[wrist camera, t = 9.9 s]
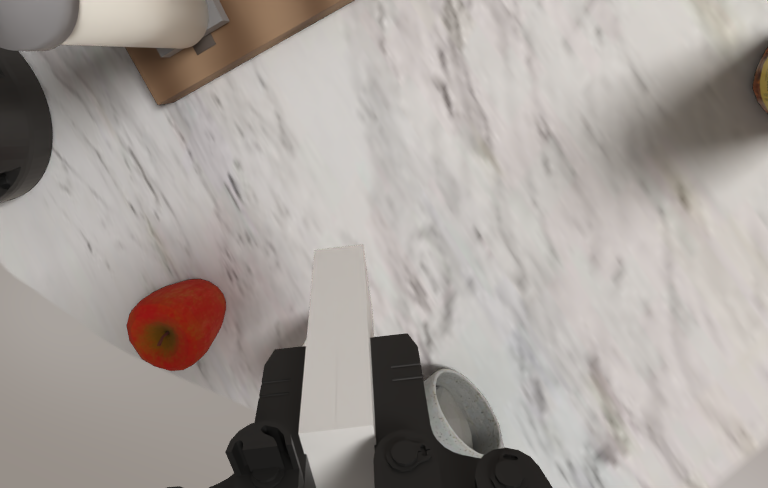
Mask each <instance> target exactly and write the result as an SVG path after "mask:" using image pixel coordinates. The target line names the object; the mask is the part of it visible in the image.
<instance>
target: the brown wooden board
mask: <svg viewBox="0 0 768 488" xmlns="http://www.w3.org/2000/svg"><path fill="white" fill-rule="evenodd" d="M219 1H220V3H221V5H222V7H223V9H224V11H225V13H226V15H227V17H228V19H229V22H228V23H226V24H224V25H223V26H221V27H219V28H218V29H216V30H214V31H213V32H211V33H209V34H208V35H206V36H204V37H203V38H202V39H201V40H200V41H199V42H198V43H197V44H195V45H194V46H192V47H189V48H184V49H183V50H181V51H179V52H178V53H176V54H174V55H173V56H171V57H161V56H160V54H159V53H158V51H157V49H156V48H146V47H125V48H126V50H127V51H128V53H129V55H130V57H131V59H132V60H133V62H134V64H135V66H136V67H137V69H138V71H139V73H140V74H141V76H142V78H143V80H144V82H145V83H146V85H147V87H148V89H149V90H150V92H151V94H152V96H153V98H154V99H155V101H156V103H157V105H161V104H167V103H173V102H175V101H177V100H179V99H180V98H182V97H184V96H186V95H187V94H189V93H191V92H193V91H195V90H196V89H198V88H200V87H202V86H203V85H205V84H207V83H209V82H210V81H212V80H214V79H216V78H218V77H219V76H221V75H223V74H225V73H226V72H228V71H230V70H232V69H233V68H235V67H237V66H239V65H241V64H242V63H244V62H246V61H248V60H249V59H251V58H253V57H255V56H256V55H258V54H260V53H262V52H264V51H265V50H267V49H269V48H271V47H272V46H274V45H276V44H278V43H280V42H281V41H283V40H285V39H287V38H288V37H290V36H292V35H294V34H295V33H297V32H299V31H301V30H303V29H304V28H306V27H308V26H310V25H311V24H313V23H315V22H317V21H318V20H320V19H322V18H324V17H326V16H327V15H329V14H331V13H333V12H334V11H336V10H338V9H340V8H341V7H343V6H345V5H347V4H349V3H350V2H352V1H354V0H219Z"/></svg>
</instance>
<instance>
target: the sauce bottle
mask: <svg viewBox="0 0 768 488" xmlns="http://www.w3.org/2000/svg"><path fill="white" fill-rule="evenodd" d="M754 76H755V78H754V81H753V91H754V93H755V96H756V98H757V101H758V102H759V103H760V105H761V106H762V108H763V109H764V110H765V111H766V112H767V113H768V48H767V49H766V51H765V53H764V55H763V56H762V58H761V60H760V62H759V64H758V67H757V70H756V72H755V75H754Z"/></svg>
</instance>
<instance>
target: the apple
mask: <svg viewBox="0 0 768 488" xmlns="http://www.w3.org/2000/svg"><path fill="white" fill-rule="evenodd" d="M225 311H226V301H225V298H224V295H223V293H222V292H221V291H220V290H219V288H218V287H217V286H215V285H214V284H212V283H211V282H209V281H206V280H202V279H191V280H185V281H182V282H179V283H175V284H172V285H169V286H165V287H163V288H161V289H159V290H157V291H155V292H153V293H151V294H150V295H148V296H147V297H145V298H144V299H142V300H141V301H140V302H139V303H138V304H137V305H136V306H135V307H134V308H133V310H132V311H131V313H130V314H129V318H128V322H127V330H128V335H129V340H130V342H131V344H132V345H133V346H134V348H135V349H136V351H137V352H138V354H139V355H140V357H141V358H142V359H143V360H145V361H146V362H148V363H150V364H152V365H153V366H156V367H159V368H163V369H166V370H170V371H175V370H184V369H186V368H188V367H190V366H192V365H193V364H194V363H196V362H197V361H198V360H199V359H200V358H201V357H202V356H203V355H204V354H205V353H206V352H207V351H208V349H209V347H210V346H211V344H212V342H213V341H214V339H215V337H216V335H217V334H218V332H219V330H220V328H221V325H222V322H223V319H224V315H225Z"/></svg>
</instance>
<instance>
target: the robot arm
mask: <svg viewBox="0 0 768 488" xmlns="http://www.w3.org/2000/svg"><path fill="white" fill-rule="evenodd" d="M51 148H52V125H51V118H50V113H49V109H48V105H47V102H46V99H45V96H44V93H43V91H42V89H41V86H40V84H39V82H38V80H37V78H36V76H35V75H34V73H33V71H32V69H31V68H30V66H29V65H28V63H27V62H26V61H25V59H24V58H23V57H22V55H21V54H20V53H19V52H18V51H13V50H7V49H4V48H1V47H0V203H1V202H4V201H8V200H11V199H14V198H17V197H19V196H21V195H23V194H25V193H26V192H28V191H29V190H30V189H32V188H33V187H34V186H35V185H36V184H37V182H38V181H39V180H40V178H41V177H42V175H43V173H44V172H45V169H46V167H47V165H48V162H49V158H50V154H51ZM226 454H227V457H228V459H229V461H230V464H231V466H232V468H233V471H234V474H233V475H232V476H230V477H229V478H228V479H226V480H224V481H222V482H220V483H219V484H216V485H214V486H212V487H209V488H552V486H551V485H550V483H549V481H548V480H547V478H546V477H545V475H544V473H543V472H542V470H541V469H540V467H539V466H538V465H537V464H536V463H535V461H534V460H533V459H532V458H531V457H530V456H528V455H526V454H524V453H523V452H521V451H519V450H515V449H510V448H501V449H494V450H492V451H490V452H488V453H487V454H485V455H483V456H482V458H476V457H471V456H466V455H461V454H458V453H455V452H452V451H451V450H449V449H447V448H445V447H444V446H443V445H442V444H441V443H440V442H439V441H438V440H437V439H436V437H435V436H434V434H433V431H432V428H431V425H430V419H429V412H428V406H427V400H426V394H425V388H424V382H423V377H422V370H421V365H420V358H419V352H418V346H417V345H416V344H415V343H414V341H413V340H412V339H411V337H410V336H409V335H408V333H407V334H398V335H389V336H380V337H374V325H373V311H372V304H371V297H370V290H369V282H368V275H367V268H366V261H365V253H364V246H363V245H354V246H345V247H336V248H327V249H318V250H314V261H313V273H312V284H311V295H310V307H309V318H308V330H307V341H306V346H302V347H293V348H285V349H276V350H274V352H273V353H272V355H271V356H270V358H269V359H268V361H267V362H266V364H265V366H264V372H263V378H262V385H261V389H260V399H259V401H258V406H257V412H256V418H255V423H252V424H250V425H248V426H246V427H245V428H243V429H242V430H240V431H239V432H238V433H237V434H236V435H235V436H234V437H233V439H231V441H230V443H229V445H228V447H227V450H226ZM167 488H182V487H167Z"/></svg>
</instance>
